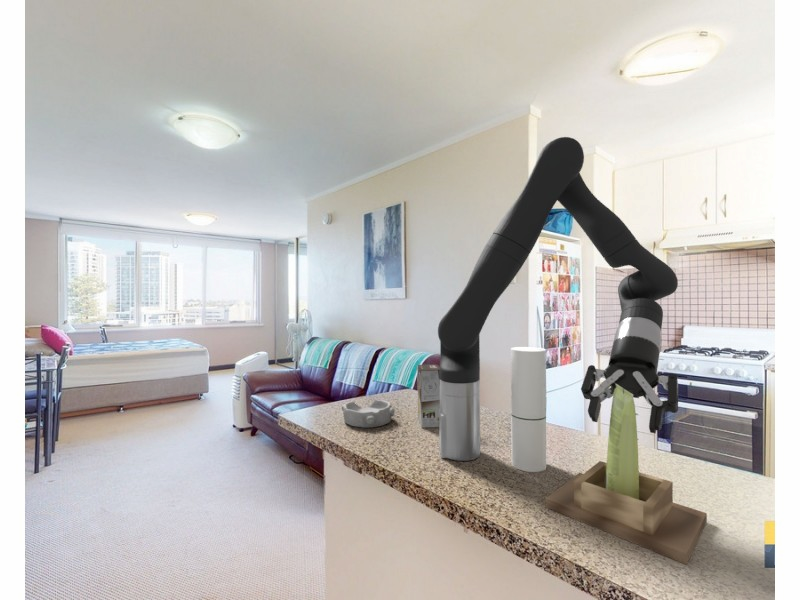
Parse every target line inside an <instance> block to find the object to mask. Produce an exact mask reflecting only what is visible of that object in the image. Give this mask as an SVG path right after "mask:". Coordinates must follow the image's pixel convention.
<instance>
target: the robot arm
mask: <svg viewBox="0 0 800 600" xmlns="http://www.w3.org/2000/svg"><path fill="white" fill-rule="evenodd" d="M584 160H585V153H584V148H583V146H582V144H581V143H580V142H579V141H578V140H576V138H573V137H569V136H561V137H558V138H555V139H553V140H551V141H549V142H548V143H547V144H546V145H544V146H543V147H542V149H541V151H540V152H539V154H538V156H537V159H536V161H535V163H534V167H533V168H532V171H531V173H530V175H529V176H528V178H527V181H526V183H525V185H524V187H523V188H522V190H521V191H520V193H519V195H518V196H517V198H516V200H514V202H513V203H512V204H511V206H510V207H509V209H508V210H507V211H506V213H505V214H504V216H503V217H502V219H501V220H500V222H499V223H498V225H497V227H496V228H495V229H494V230H493V233H492V234H491V235H490V237H489V239H488V241H487V243H486V244H485V245H484V247H483V249H482V251H481V253H480V256H479V257H478V259H477V261H476V263H475V265H474V267H473V270H472V272H471V275H470V277H469V278H468V281H467V283H466V285H465V287H464V288H463V290H462V291H461V293H460V294H459V296H458V297H457V298H456V300H455V302H454V303H453V305H452V306H451V307H450V308H449V310H448V311H447V312H446V313H445V314H444V315H443V317H442V318H441V319H440V321H439V323H438V327H437V336H438V339H439V344H440V348H439V349H440V351H439V352H440V359H439V367H440V368H439V378H440V409H439V427H438V430H439V431H438V433H439V434H438V437H439V438H438V440H439V441H438V442H439V447H438V448H439V452H440V458H441V459H448V460H452V461H458V462H459V461H460V462H464V461H472V460H473V461H474V460H475V459H478V458H479V457H480V456H481V393H480V392H481V382H480V380H481V375H480V374H481V366H480V365H481V364H480V363H481V362H480V361H481V359H480V354H481V353H480V334H481V332H482V330H483V328H484V326H485V323H486V320H487V319H488V317H489V315H490V312H491V311H492V309H493V308H494V306H495V304H496V303H497V301H498V300H499V298H500V297H501V296H502V294H503V293H504V292H505V291H506V289H507V288H508V287H509V286H510V284H511V283H512V281H513V280H514V279H515V277H516V276H517V275H518V273H519V272H520V270H521V269H522V267H523V265H524V264H525V262H526V260H527V259H528V258H529V256H530V254H531V252H532V251H533V249H534V247H535V245H536V243H537V241H538V239H539V238H540V235H541V233H542V231H543V229H544V227H545V224H546V222H547V220H548V217H549V216H550V214H551V212H552V209H553V208H554V206H555V204H556V203H557V202H559V204H560V205H561V206H562V207H563V208H564V209H565V210H566V211H567V212H568V213H569V214H570V215H571V217H572V218H573V219H574V220H575V221H576V223H577V224H578V226H580V229H582V231H583V232H584V233H585V235H586V236H587V237H588V239H589V240H590V242H591V243H592V245H594V247H595V248H596V249H597V252H599V254H600V255H601V257H602V258H603V259H604V260H605V262H606V263H607V264H608V266H610V267H611V268H613V269H617V268H623V267H625V266H626V267H627V266H629V267H632V268H634V269H636V270H637V271H635V272H633V273H630V274H628V275H627V276H625V277H624V278H623V279H622V280H621V281H620V282H619V284H618V287H617V292H618V293H617V294H618V299H619V305H620V309H621V311H620V312H621V313H620V316H619V322H618V326H617V328H616V330H615V334H614V336H613V341H612V345H611V346H612V347H611V351H610V355H609V356H610V357H609V359H608V365H607V367H606V368H605V369H601V368H600V369H599V368H596V366H595V365H592V364H591V365H589V366H588V367H587V369H586V373H585V375H584V379H583V381H582V384H581V388H580V390H581V393H582V395H583V398H584V400H589V403H588V408H587V414H588V416H589V418H590V419H591V421H592V422H594V423H598V421H599V417H600V412H601V408H602V402H604V401H605V400H606V399H611V398H613V394H614V389H615V388H616V384H618V385H619V386H621V387H622V388H623V389H625V390H627V391H628V392H630V393H631V394H633V399H636V398H637V399H640V397H641V398H642V397H643V399H644V400H645V402H647V404H649V405H650V406H651V408H650V415H649V416H650V417H649V423H648V429H649V432H650V433H651V434H656V432H657V431H658V432H659V431H661V429H662V428H663V427H662V426H663V420H664V419H663V417H664V414H665V413H673V414H675V413H677V412H678V411H679V382H678V375H677V374H676V373H669V374H668V376H666V375H665V376H664V375H658V367H659V359H660V353H661V350H662V346H661V344H662V335H661V334H662V326H663V318H664V311H663V308H662V306H661V304H659V303H658V302H657V301H659V300H660V299H661V300H662V298H663V299H664V298H666V297H668V296H671V295H672V294H673V293H675V292H676V291H677V289H678V285H679V282H678V277H677V275H676V273H675V271H674V269H672V268H671V267H670V266H669V265H668V264H667V263H666V262H664V261H663V260H661V259H660V258H658V257H657V256H656V255H654V254H653V253H652V252H651V251H650V250H648V249H647V248H645V247H644V246H643V244H641V243H640V242H639V241H638V239H636V237H635V235H634V234H633V233H632V232H631V230H630V229H629V227H628V226H627V225H626V223H624V221H623V220H622V219H621V218H620V217H619V216H618V215H617V214H616V213H615V212H613V210H611V209H610V208H609V207H608V206H606V205H605V204H603V202H601V200H599V199H598V197H596V195H594V193H593V192H591V190H590V189H589V188H588V186H587V185H586V182H585V181H584V179H583V177H582V175H581V170H582V169H583V166H584V163H585V162H584ZM603 377H604V378H605V379H604V380H603V381H602V382H601V383H600V384H599V386H597V388H595V386H596V382H599V381H600V379H601V378H603ZM615 383H616V384H615ZM659 384H660V385H662V387H663V389H664V390H666V391H667V399H665V400H662V399H661V398H660V397H659V396H658V395H657V393H656V391H655V390H654V388H656V387H657V386H659Z"/></svg>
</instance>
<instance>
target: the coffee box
mask: <svg viewBox="0 0 800 600" xmlns="http://www.w3.org/2000/svg"><path fill="white" fill-rule="evenodd" d="M439 368H440V365H438V364H431V363H430V364H417V368H416V369H417V372H416V373H417V375H416V376H417V377H416V379H417V418H418V419H417V420H418V421H419V424H420V427H421V429H423V428H425V429H426V428H439V409H440V378H439Z"/></svg>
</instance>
